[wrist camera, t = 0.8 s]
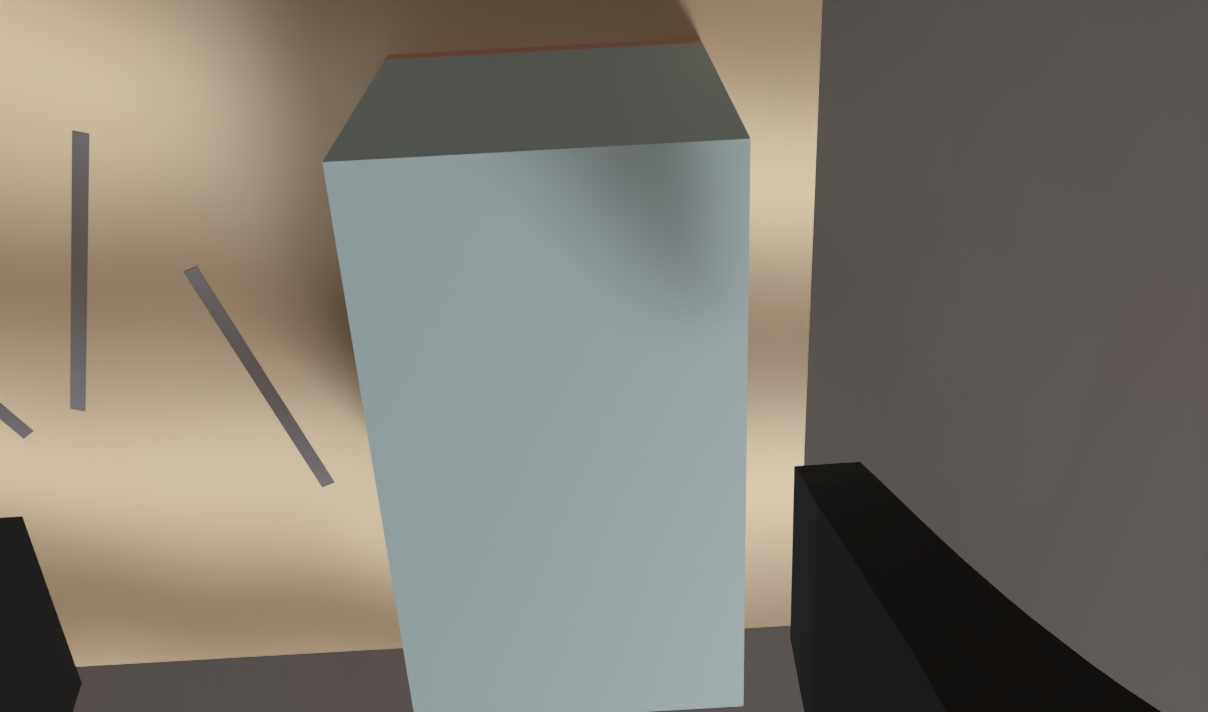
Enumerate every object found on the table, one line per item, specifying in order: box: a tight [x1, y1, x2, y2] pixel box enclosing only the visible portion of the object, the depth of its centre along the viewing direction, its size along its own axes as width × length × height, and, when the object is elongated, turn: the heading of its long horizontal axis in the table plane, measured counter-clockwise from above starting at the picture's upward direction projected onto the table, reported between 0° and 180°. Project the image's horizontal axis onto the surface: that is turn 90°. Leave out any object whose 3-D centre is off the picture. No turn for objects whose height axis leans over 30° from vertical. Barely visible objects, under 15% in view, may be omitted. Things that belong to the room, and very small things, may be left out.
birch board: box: [0, 0, 822, 667], centre depth 19 cm, size 14×24×2 cm, turn 93°
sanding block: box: [322, 38, 751, 712], centre depth 16 cm, size 8×4×5 cm, turn 3°
